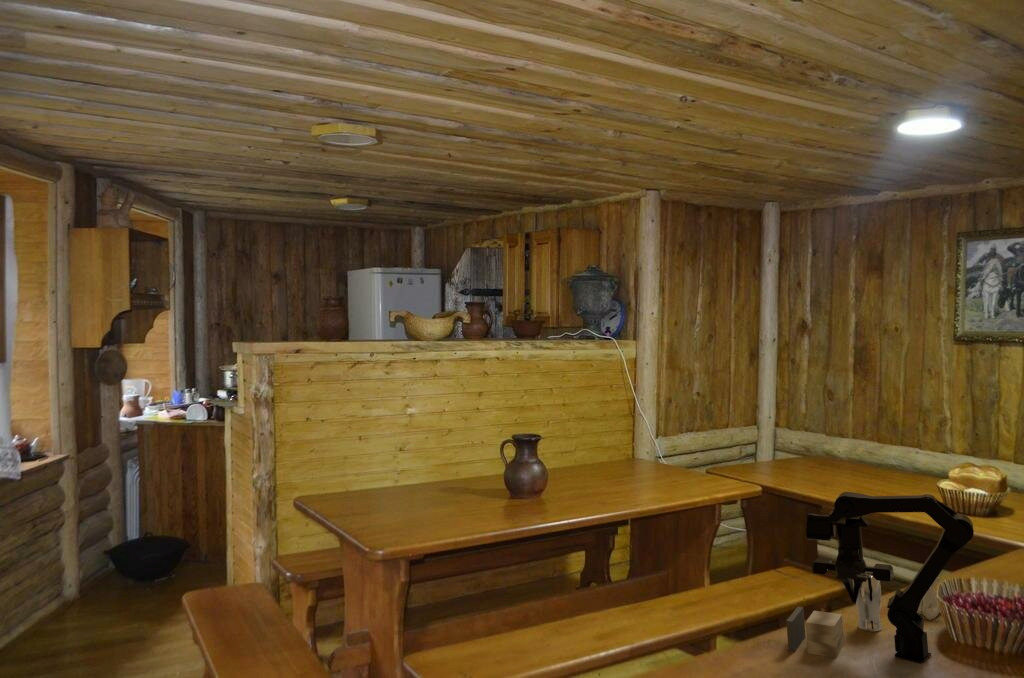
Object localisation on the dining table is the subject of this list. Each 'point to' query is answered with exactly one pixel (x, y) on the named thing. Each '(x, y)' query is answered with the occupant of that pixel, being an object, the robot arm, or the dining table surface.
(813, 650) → the maple block
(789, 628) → the backstop board
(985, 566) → the dining table surface
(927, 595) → the sitting furry creature
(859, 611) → the beer glass
